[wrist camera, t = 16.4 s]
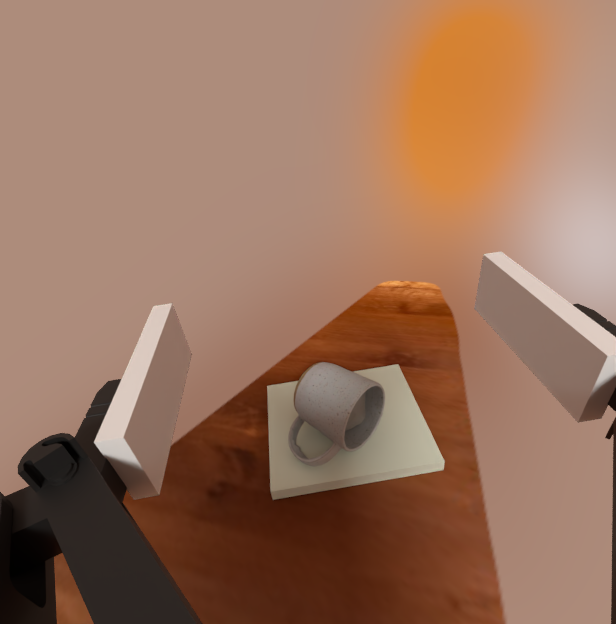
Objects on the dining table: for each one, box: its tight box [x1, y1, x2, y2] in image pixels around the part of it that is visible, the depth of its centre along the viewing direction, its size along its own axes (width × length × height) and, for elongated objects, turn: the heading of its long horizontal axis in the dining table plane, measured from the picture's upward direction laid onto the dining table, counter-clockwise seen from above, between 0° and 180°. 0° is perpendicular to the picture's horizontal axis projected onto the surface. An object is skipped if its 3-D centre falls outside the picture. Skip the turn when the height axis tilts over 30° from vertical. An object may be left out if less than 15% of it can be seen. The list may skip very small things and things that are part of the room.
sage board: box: [267, 364, 445, 500], centre depth 44 cm, size 18×15×2 cm
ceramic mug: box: [288, 362, 385, 466], centre depth 40 cm, size 11×8×8 cm
